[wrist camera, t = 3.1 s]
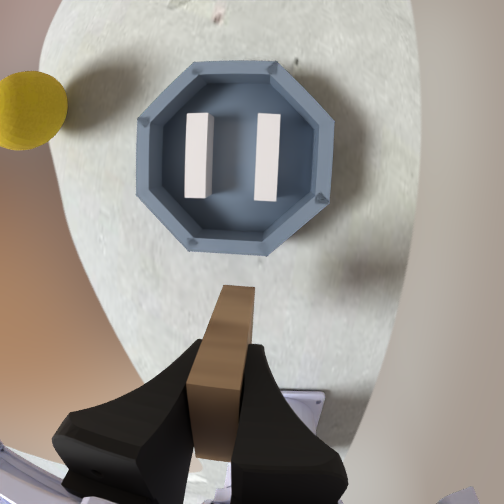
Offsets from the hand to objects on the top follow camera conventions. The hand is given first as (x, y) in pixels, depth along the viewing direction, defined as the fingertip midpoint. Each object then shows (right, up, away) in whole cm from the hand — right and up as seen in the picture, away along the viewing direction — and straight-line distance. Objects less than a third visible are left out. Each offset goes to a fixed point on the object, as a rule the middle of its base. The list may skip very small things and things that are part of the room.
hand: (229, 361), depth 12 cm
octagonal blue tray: (0, +10, +6) cm, 12 cm away
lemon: (-14, +15, +6) cm, 21 cm away
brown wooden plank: (0, +1, +3) cm, 3 cm away
